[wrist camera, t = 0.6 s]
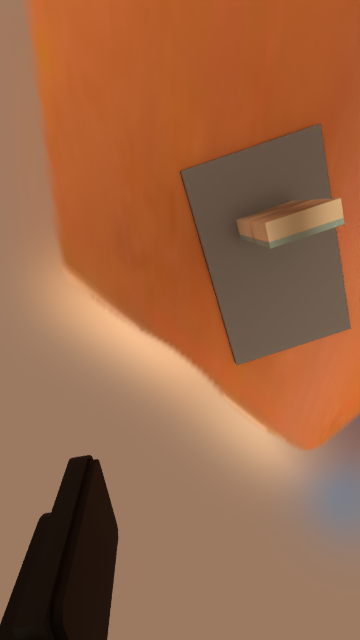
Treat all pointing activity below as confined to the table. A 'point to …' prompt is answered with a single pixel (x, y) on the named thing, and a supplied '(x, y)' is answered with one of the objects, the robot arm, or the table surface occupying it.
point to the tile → (291, 221)
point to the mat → (264, 263)
